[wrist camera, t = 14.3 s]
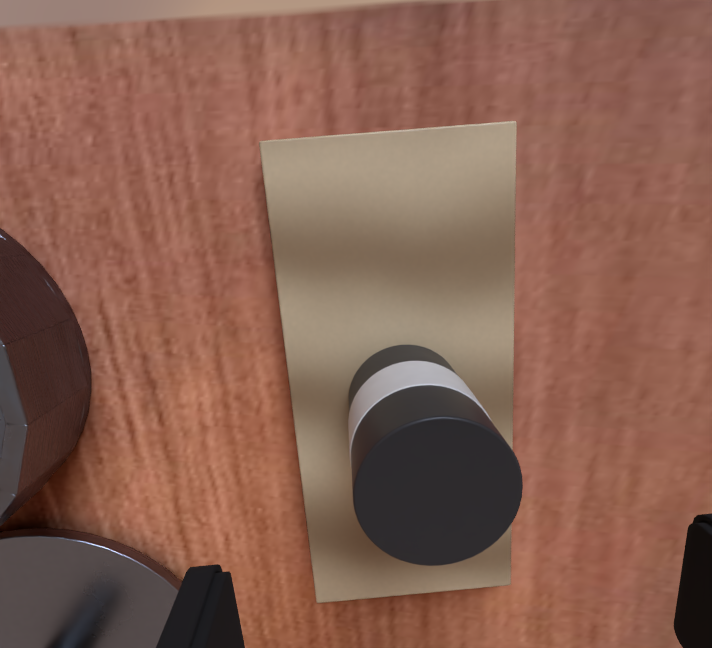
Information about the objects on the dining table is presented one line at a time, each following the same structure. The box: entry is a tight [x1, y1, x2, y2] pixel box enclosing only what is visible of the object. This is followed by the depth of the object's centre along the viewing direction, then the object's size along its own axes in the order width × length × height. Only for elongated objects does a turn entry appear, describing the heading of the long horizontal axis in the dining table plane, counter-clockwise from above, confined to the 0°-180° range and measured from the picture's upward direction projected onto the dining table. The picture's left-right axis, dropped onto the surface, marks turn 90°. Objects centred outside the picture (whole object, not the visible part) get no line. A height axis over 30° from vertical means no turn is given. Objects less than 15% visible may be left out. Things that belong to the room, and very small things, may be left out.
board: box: [259, 121, 516, 603], centre depth 20 cm, size 22×10×2 cm, turn 4°
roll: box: [348, 345, 523, 566], centre depth 16 cm, size 5×5×7 cm
